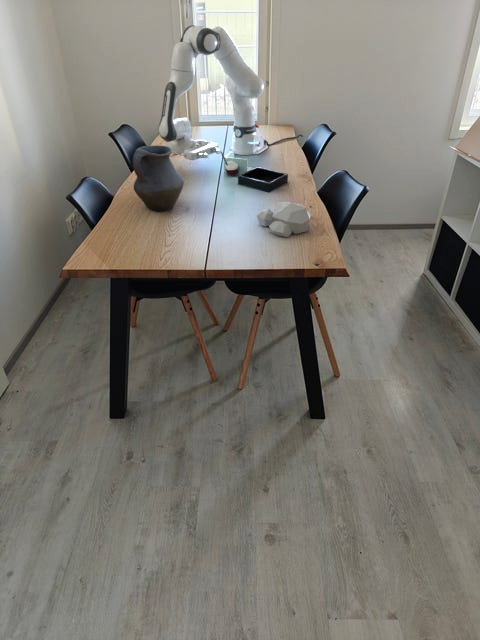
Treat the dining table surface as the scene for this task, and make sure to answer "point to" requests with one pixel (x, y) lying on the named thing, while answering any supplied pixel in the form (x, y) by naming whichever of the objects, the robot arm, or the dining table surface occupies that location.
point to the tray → (262, 179)
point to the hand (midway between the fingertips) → (213, 154)
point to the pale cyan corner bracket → (241, 163)
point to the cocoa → (231, 167)
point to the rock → (285, 219)
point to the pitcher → (156, 177)
